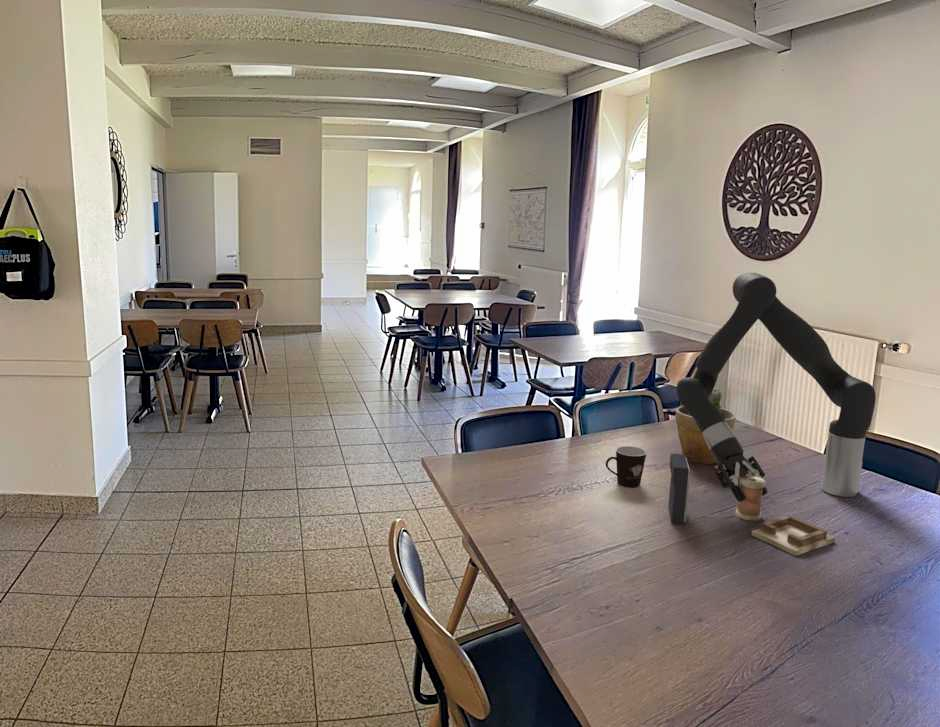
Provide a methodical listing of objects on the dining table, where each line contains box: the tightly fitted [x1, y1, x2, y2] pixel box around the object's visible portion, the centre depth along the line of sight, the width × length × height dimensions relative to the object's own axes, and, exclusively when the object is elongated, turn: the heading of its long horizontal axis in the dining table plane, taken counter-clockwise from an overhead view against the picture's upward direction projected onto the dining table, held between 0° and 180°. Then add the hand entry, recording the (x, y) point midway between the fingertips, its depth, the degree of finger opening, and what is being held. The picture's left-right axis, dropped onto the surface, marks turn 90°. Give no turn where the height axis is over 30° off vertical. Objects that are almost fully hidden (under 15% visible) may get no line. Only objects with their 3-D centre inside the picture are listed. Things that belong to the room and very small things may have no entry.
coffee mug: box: [605, 445, 647, 489], centre depth 200 cm, size 12×9×10 cm
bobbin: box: [735, 475, 766, 522], centre depth 180 cm, size 6×6×10 cm
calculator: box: [667, 453, 691, 525], centre depth 179 cm, size 11×4×15 cm, turn 168°
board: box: [751, 514, 836, 557], centre depth 169 cm, size 15×12×3 cm
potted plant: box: [674, 387, 737, 465], centre depth 222 cm, size 18×19×25 cm
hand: (753, 497), depth 179 cm, fingers open, 8 cm apart
